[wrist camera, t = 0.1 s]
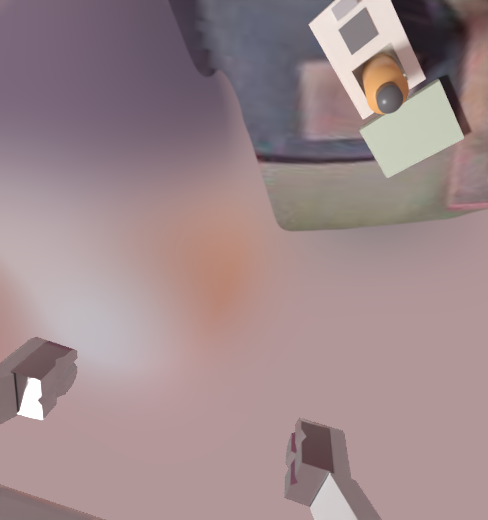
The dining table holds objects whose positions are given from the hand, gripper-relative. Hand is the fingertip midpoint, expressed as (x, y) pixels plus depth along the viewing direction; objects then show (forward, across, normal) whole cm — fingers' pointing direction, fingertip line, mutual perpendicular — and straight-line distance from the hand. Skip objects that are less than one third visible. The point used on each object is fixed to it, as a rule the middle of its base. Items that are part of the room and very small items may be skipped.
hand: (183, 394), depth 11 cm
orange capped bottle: (+48, -10, -18) cm, 52 cm away
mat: (+51, -19, -12) cm, 55 cm away
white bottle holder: (+48, -8, -21) cm, 53 cm away
